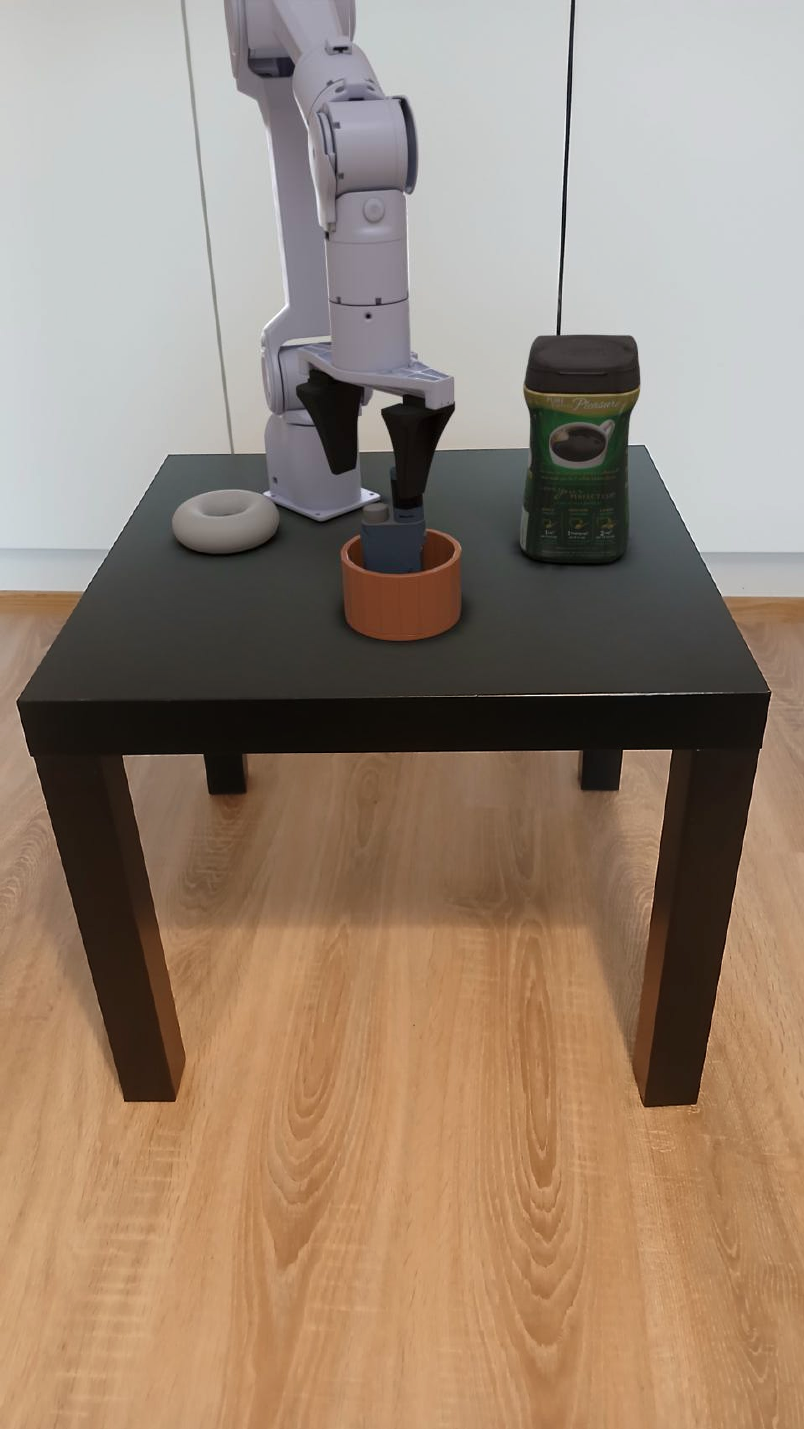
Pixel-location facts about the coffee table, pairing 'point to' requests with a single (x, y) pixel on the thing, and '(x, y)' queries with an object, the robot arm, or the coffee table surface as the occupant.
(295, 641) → the coffee table surface
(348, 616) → the jar
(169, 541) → the coffee table surface
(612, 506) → the coffee jar
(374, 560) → the vaping device
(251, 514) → the donut
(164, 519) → the coffee table surface
